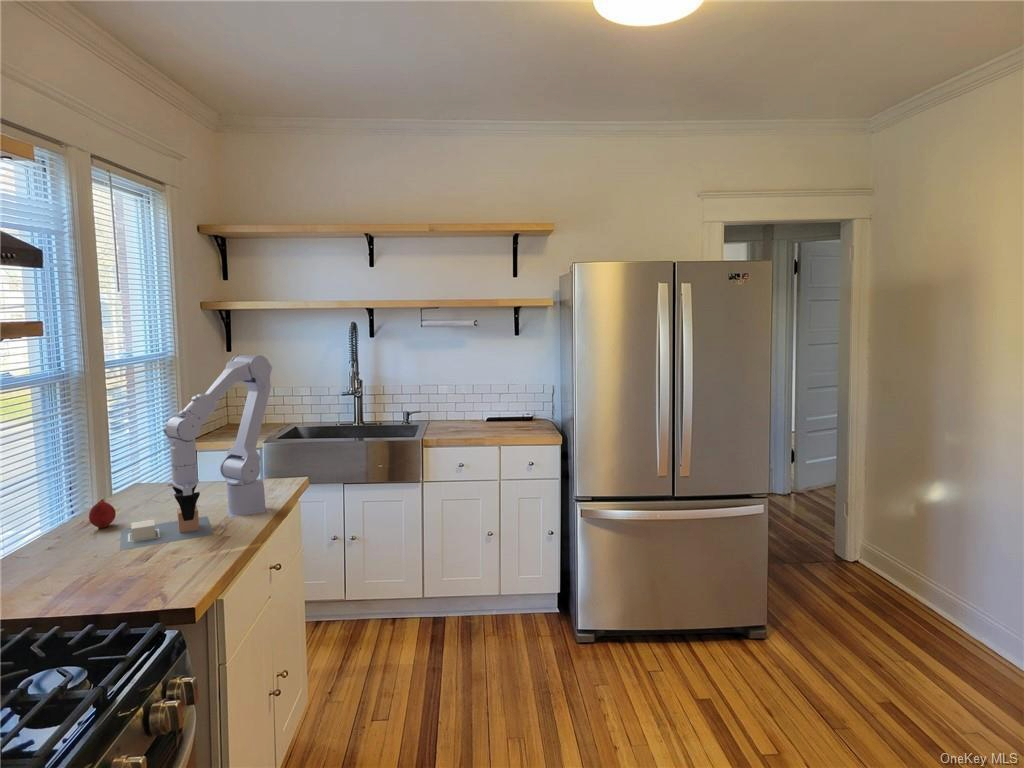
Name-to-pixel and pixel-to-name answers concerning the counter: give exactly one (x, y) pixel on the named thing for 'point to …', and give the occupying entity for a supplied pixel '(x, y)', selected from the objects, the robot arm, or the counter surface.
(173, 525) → the board
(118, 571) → the counter surface
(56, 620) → the counter surface
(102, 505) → the onion
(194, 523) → the terracotta block
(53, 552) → the counter surface
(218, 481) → the counter surface
